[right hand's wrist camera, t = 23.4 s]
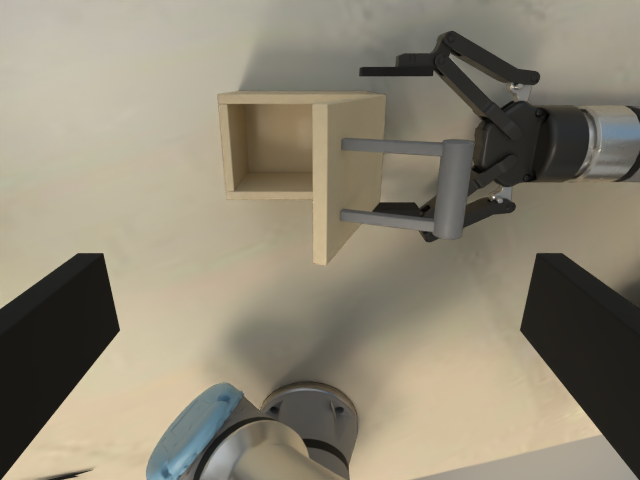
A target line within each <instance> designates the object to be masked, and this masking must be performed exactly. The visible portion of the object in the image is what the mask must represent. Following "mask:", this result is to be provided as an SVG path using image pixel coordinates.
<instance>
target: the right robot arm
mask: <svg viewBox="0 0 640 480" xmlns="http://www.w3.org/2000/svg"><path fill="white" fill-rule="evenodd" d="M119 331H120V328H119V323H118V319H117V314H116V310H115V305H114V300H113V296H112V291H111V287H110V282H109V278H108V273H107V268H106V264H105V259H104V255H103V253H78V254H76V255H75V256H73V257H72V258H71V259H69V260H68V261H67V262H65V263H64V264H62V265H61V266H60V267H58V268H57V269H55V270H54V271H53V272H51V273H50V274H48V275H47V276H46V277H44V278H43V279H42V280H40V281H39V282H37V283H36V284H35V285H33V286H32V287H30V288H29V289H28V290H26V291H25V292H24V293H22V294H21V295H19V296H18V297H17V298H15V299H14V300H12V301H11V302H10V303H8V304H7V305H5V306H4V307H3V308H1V309H0V480H1V479H2V478H3V477H4V475H5V474H6V473H7V472H8V470H9V469H10V468H11V467H12V465H13V464H14V463H15V462H16V460H17V459H18V458H19V457H20V455H21V454H22V453H23V452H24V450H25V449H26V448H27V447H28V445H29V444H30V443H31V442H32V440H33V439H34V438H35V436H36V435H37V434H38V433H39V431H40V430H41V429H42V428H43V426H44V425H45V424H46V423H47V421H48V420H49V419H50V418H51V416H52V415H53V414H54V413H55V411H56V410H57V409H58V408H59V406H60V405H61V404H62V403H63V401H64V400H65V399H66V398H67V396H68V395H69V394H70V392H71V391H72V390H73V389H74V387H75V386H76V385H77V384H78V382H79V381H80V380H81V379H82V377H83V376H84V375H85V374H86V372H87V371H88V370H89V369H90V367H91V366H92V365H93V364H94V362H95V361H96V360H97V359H98V357H99V356H100V355H101V354H102V352H103V351H104V350H105V349H106V347H107V346H108V345H109V343H110V342H111V341H112V340H113V338H114V337H115V336H116V335H117V333H118V332H119ZM520 331H521V332H522V333H523V335H524V336H525V337H526V338H527V340H528V341H529V342H530V343H531V345H532V346H533V347H534V349H535V350H536V351H537V352H538V354H539V355H540V356H541V357H542V359H543V360H544V361H545V362H546V364H547V365H548V366H549V367H550V369H551V370H552V371H553V372H554V374H555V375H556V376H557V377H558V379H559V380H560V381H561V382H562V384H563V385H564V386H565V387H566V389H567V390H568V391H569V392H570V394H571V395H572V396H573V398H574V399H575V400H576V401H577V403H578V404H579V405H580V406H581V408H582V409H583V410H584V411H585V413H586V414H587V415H588V416H589V418H590V419H591V420H592V421H593V423H594V424H595V425H596V426H597V428H598V429H599V430H600V431H601V433H602V434H603V435H604V436H605V438H606V439H607V440H608V441H609V443H610V444H611V445H612V447H613V448H614V449H615V450H616V452H617V453H618V454H619V455H620V457H621V458H622V459H623V460H624V462H625V463H626V464H627V465H628V467H629V468H630V469H631V470H632V472H633V473H634V474H635V475H636V477H637V478H638V479H639V480H640V309H639V308H637V307H636V306H635V305H633V304H632V303H630V302H629V301H628V300H626V299H625V298H623V297H622V296H621V295H619V294H618V293H616V292H615V291H614V290H612V289H611V288H610V287H608V286H607V285H605V284H604V283H603V282H601V281H600V280H598V279H597V278H596V277H594V276H593V275H591V274H590V273H589V272H587V271H586V270H585V269H583V268H582V267H580V266H579V265H578V264H576V263H575V262H573V261H572V260H571V259H569V258H568V257H567V256H565V255H564V254H562V253H537V255H536V259H535V264H534V268H533V273H532V278H531V282H530V287H529V291H528V296H527V300H526V305H525V310H524V314H523V319H522V323H521V328H520Z"/></svg>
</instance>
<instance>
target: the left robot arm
mask: <svg viewBox="0 0 640 480" xmlns="http://www.w3.org/2000/svg"><path fill="white" fill-rule="evenodd" d="M450 53H451V54H453V55H454V56H456V57H458V58H459V59H461V60H463V61H465V62H466V63H468V64H470V65H472V66H473V67H475V68H477V69H478V70H480V71H482V72H484V73H485V74H487V75H489V76H490V77H492V78H494V79H496V80H498V81H500V82H503V83H507V85H506V89H507V91H508V92H510V93H512V94H513V96H514V100H513V101H511V102H509V103H508V104H506V105H505V106H503V107H502V108H499V107H498V106H497V105H496V104H495V103H493V102H492V101H491V100H490V99H489V98H488V97H487V96H486V95H485V94H484V93H483V92H482V91H481V90H480V89H479V88H478V87H477V86H476V85H475V84H474V83H473V82H472V81H471V80H470V79H469V78H468V77H467V76H466V75H465V74H464V73H463V72H462V71H461V70H460V69H459V67H458V66H457V65H456V64H455V63H454V62H453V61H452V60H451V59H450V58H449V55H450ZM433 70H434V71H435V72H436V73H437V74H438V75H439V76H440V77H441V78H442V79H443V80H444V81H445V82H446V83H447V84H448V85H449V86H450V87H451V88H452V89H453V90H454V91H455V92H456V93H457V94H458V95H459V96H460V97H461V98H462V99H463V100H464V101H465V102H466V103H467V104H468V105H469V106H470V107H471V108H472V110H473V112H474V113H475V114H476V115H477V116H478V117H479V118H480V119H481V120H482V122H481V123H480V124H479V126H478V128H476V129H475V146H474V152H473V161H474V164H475V165H473V166H472V167H471V173H470V180H469V188H468V195H467V197H468V196H469V195H470V194H472V193H473V192H474V191H476V190H477V189H479V188H483V187H485V186H486V185H488V184H489V183H490V182H492V181H495V182H496V183H497V184H499V187H498V189H497V190H496V191H493V192H491V193H489V197H485V198H482V199H479V200H476V201H474V202H472V203H470V204H468V205H466V209H465V216H464V223H463V228H464V227H466V226H469V225H471V224H473V223H475V222H478V221H480V220H482V219H485V218H487V217H489V216H491V215H494V214H504V213H511V212H513V211H514V210H515V208H516V205H515V203H513V202H512V201H511V198H512V186H514V185H516V184H518V183H522V182H565V181H568V182H640V106H578V107H575V106H535V105H531V104H530V103H528V99H529V95H530V92H531V88H532V85H535V84H537V83H538V82H539V80H540V74H539V73H538V72H536V71H529V70H521V69H517V68H515V67H513V66H512V65H510V64H508V63H507V62H505V61H503V60H502V59H500V58H498V57H497V56H495V55H493V54H491V53H490V52H488V51H486V50H485V49H483V48H481V47H480V46H478V45H476V44H475V43H473V42H471V41H470V40H468V39H466V38H464V37H463V36H461V35H459V34H458V33H456V32H454V31H449V32H446V33H444V34H441V35H440V36H439V37H438V39H437V44H436V46H435V49H434V50H433V51H432V52H431V53H430V54H401V55H399V56H397V57H396V67H361V68H360V73H359V76H433ZM435 204H436V196H435V197H434V198H432V199H431V200H430V201H428V202H427V203H426V204H424V205H423V206H422V207H420V208H418V206H417V205H416V204H415V202H389V203H379V204H378V205H377V206H376V207H375V208H374V210H373V211H372V212H378V213H387V214H396V215H405V216H414V217H423V218H432V219H434V213H435ZM419 232H420V234H421V235H422V237H423V238H424V240H425V241H426V242H432V241H435V240H437V239H439V238H438V237H436V236H434V235H433V233H432V232H427V231H419ZM243 395H244V393H243V392H242V391H239V390H237V389H236V388H235V387H234V386H232V385H231V384H229V383H219V384H216V385H214V386H212V387H210V388H209V389H207V390H206V391H204V392H203V393H202V394H201V395H199V396H198V397H197V398H196V399H194V400H193V401H192V402H191V403H190V404H189V405H188V406H187V407H186V408H185V409H184V410H183V411H182V412H181V414H180V415H179V416H178V417H177V418H176V419H175V420H174V422H173V423H172V424H171V425H170V427H169V428H168V429H167V431H166V432H165V433H164V435H163V436H162V438H161V439H160V441H159V442H158V444H157V446H156V447H155V449H154V451H153V453H152V455H151V457H150V459H149V462H148V465H147V469H146V478H147V480H350V478H349V463H350V459H351V456H352V452H353V449H354V445H355V442H356V438H357V434H358V423H357V415H356V411H355V408H354V406H353V404H352V403H351V401H350V400H349V399H348V398H347V397H346V396H345V395H344V394H343V393H341V392H340V391H338V390H337V389H335V388H333V387H331V386H328V385H325V384H321V383H315V382H299V383H293V384H290V385H286V386H284V387H282V388H280V389H278V390H276V391H275V392H273V393H272V394H271V395H270V396H268V398H267V399H266V400H265V401H264V403H263V404H262V406H261V409H260V410H259V409H257V408H256V407H255V406H254V405H253V404H252V403H250V402H249V401H248V400H247V399H246V398H245V397H244V396H243Z"/></svg>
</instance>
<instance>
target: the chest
mask: <svg viewBox="0 0 640 480" xmlns="http://www.w3.org/2000/svg"><path fill="white" fill-rule="evenodd" d="M370 95H377V93H373V92H369V91H235V92H229V93H222V94H217V96H218V107H219V119H220V130H221V141H222V153H223V164H224V176H225V187H226V199H227V200H313V142H312V105H313V104H314V103H321V102H328V101H335V100H342V99H349V98H356V97H363V96H370ZM378 95H380V94H378Z"/></svg>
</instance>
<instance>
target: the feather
mask: <svg viewBox="0 0 640 480" xmlns="http://www.w3.org/2000/svg"><path fill="white" fill-rule="evenodd" d="M89 471H91V470H89ZM85 472H88V471H85ZM85 472H80V473H76V474H71V475H67V476H62V477H58V478H53V479H49V480H64V479H68V478H73V477H78V476H75V475H78V474H81V473H85Z"/></svg>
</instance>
